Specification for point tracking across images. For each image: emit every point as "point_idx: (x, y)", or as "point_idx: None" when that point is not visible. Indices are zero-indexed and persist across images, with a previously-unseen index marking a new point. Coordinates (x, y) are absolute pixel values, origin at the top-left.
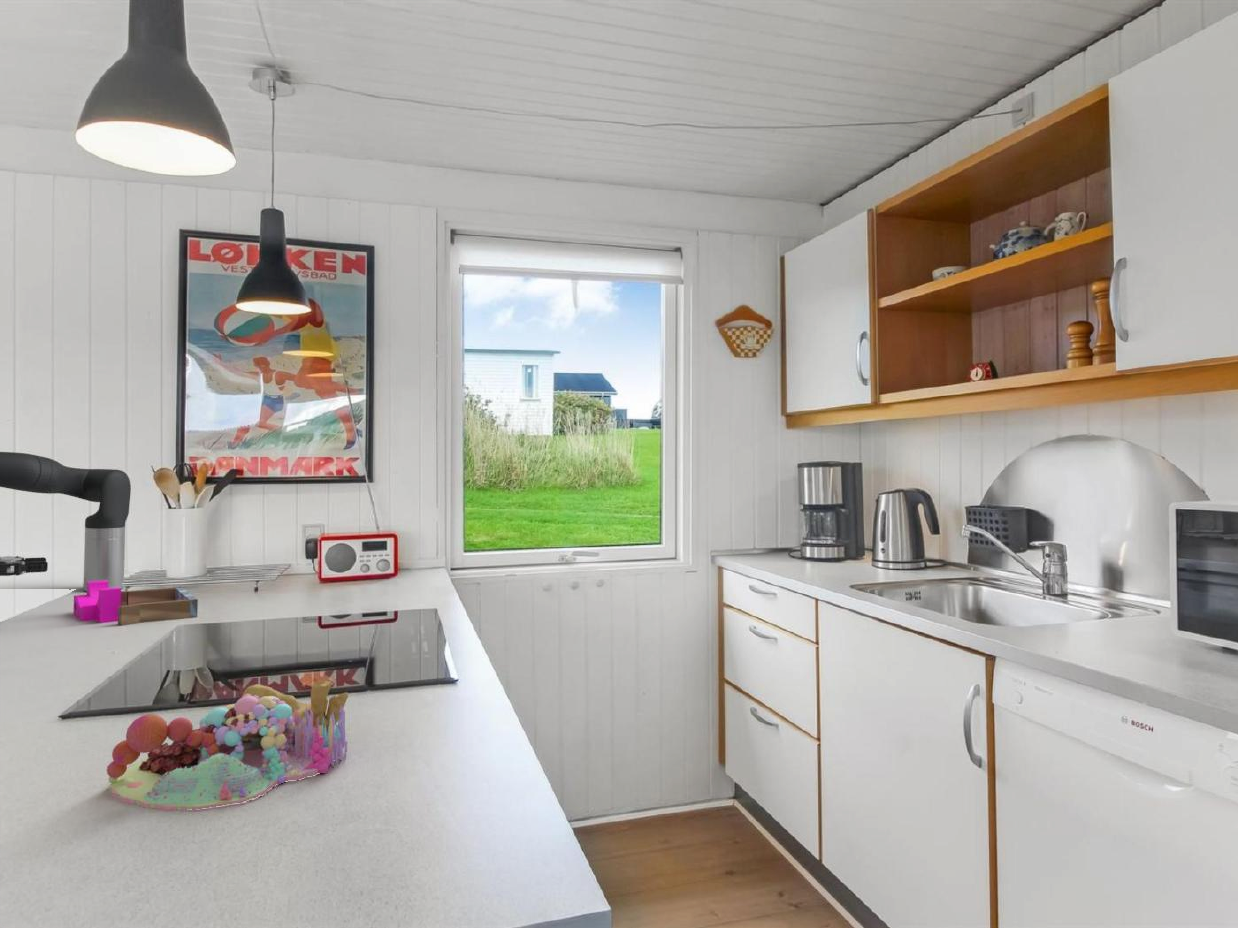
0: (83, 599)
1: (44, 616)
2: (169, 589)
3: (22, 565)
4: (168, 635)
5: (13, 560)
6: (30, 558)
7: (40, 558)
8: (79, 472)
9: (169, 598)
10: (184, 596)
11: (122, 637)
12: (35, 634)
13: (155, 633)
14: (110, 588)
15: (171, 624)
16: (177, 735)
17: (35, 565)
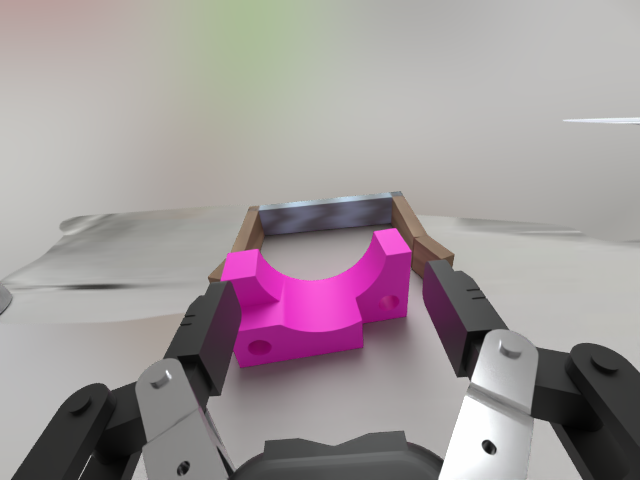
0: (286, 316)
1: (224, 440)
2: (257, 216)
3: (556, 353)
4: (562, 236)
5: (491, 396)
6: (209, 331)
7: (225, 295)
8: None
9: (261, 230)
10: (347, 203)
11: (588, 282)
12: (555, 459)
13: (542, 248)
14: (385, 240)
15: (457, 235)
16: None
17: (485, 303)
